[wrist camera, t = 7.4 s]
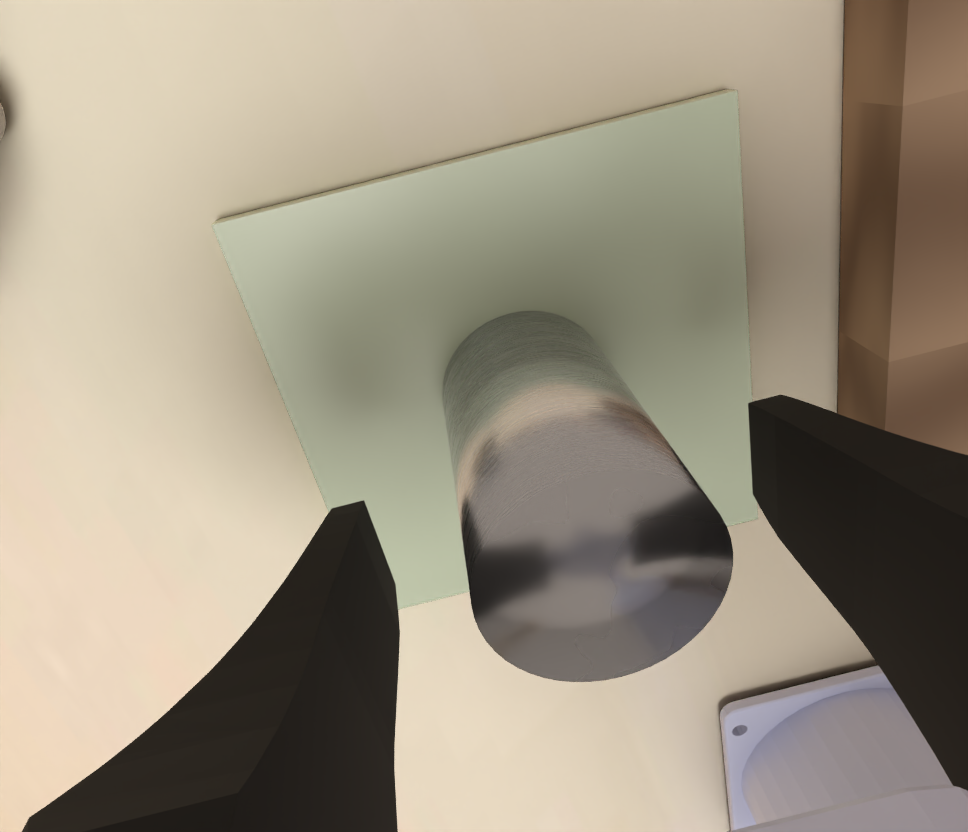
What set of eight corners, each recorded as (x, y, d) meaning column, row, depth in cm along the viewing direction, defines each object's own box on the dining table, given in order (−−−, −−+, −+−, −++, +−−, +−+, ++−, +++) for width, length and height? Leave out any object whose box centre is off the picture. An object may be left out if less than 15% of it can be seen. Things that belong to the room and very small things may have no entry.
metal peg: (618, 441, 18) (740, 645, 11) (464, 480, 18) (502, 707, 11) (594, 291, 16) (724, 439, 10) (423, 335, 16) (441, 511, 10)
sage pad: (749, 508, 20) (758, 519, 19) (371, 603, 20) (371, 616, 19) (727, 88, 15) (737, 90, 14) (217, 219, 15) (211, 225, 14)
